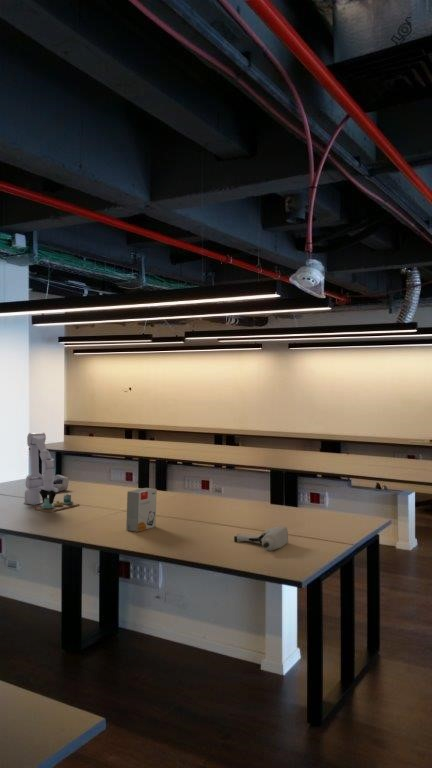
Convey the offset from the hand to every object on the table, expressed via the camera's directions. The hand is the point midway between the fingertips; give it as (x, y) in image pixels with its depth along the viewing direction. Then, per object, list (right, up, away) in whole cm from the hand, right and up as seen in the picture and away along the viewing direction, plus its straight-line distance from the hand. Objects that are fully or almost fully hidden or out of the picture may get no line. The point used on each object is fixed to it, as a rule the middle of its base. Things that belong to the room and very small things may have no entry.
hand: (48, 503), depth 339 cm
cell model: (-14, -5, +59) cm, 61 cm away
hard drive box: (+60, -5, -41) cm, 73 cm away
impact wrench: (+118, -6, -70) cm, 137 cm away
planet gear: (0, -3, 0) cm, 3 cm away
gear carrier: (+4, -4, +7) cm, 9 cm away
